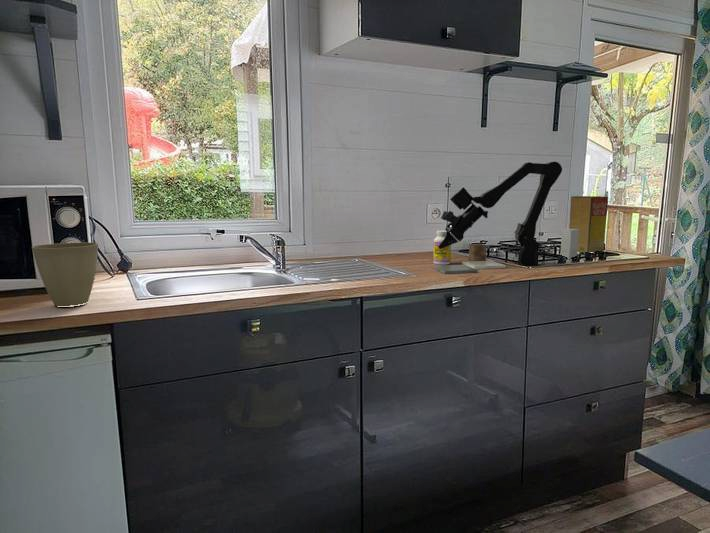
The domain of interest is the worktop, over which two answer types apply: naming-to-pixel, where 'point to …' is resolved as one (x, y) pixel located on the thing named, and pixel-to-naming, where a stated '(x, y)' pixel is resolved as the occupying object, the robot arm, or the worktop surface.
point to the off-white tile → (483, 264)
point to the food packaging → (589, 221)
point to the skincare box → (569, 243)
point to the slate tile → (454, 269)
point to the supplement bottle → (441, 250)
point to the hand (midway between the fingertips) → (438, 246)
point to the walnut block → (477, 252)
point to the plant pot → (67, 270)
